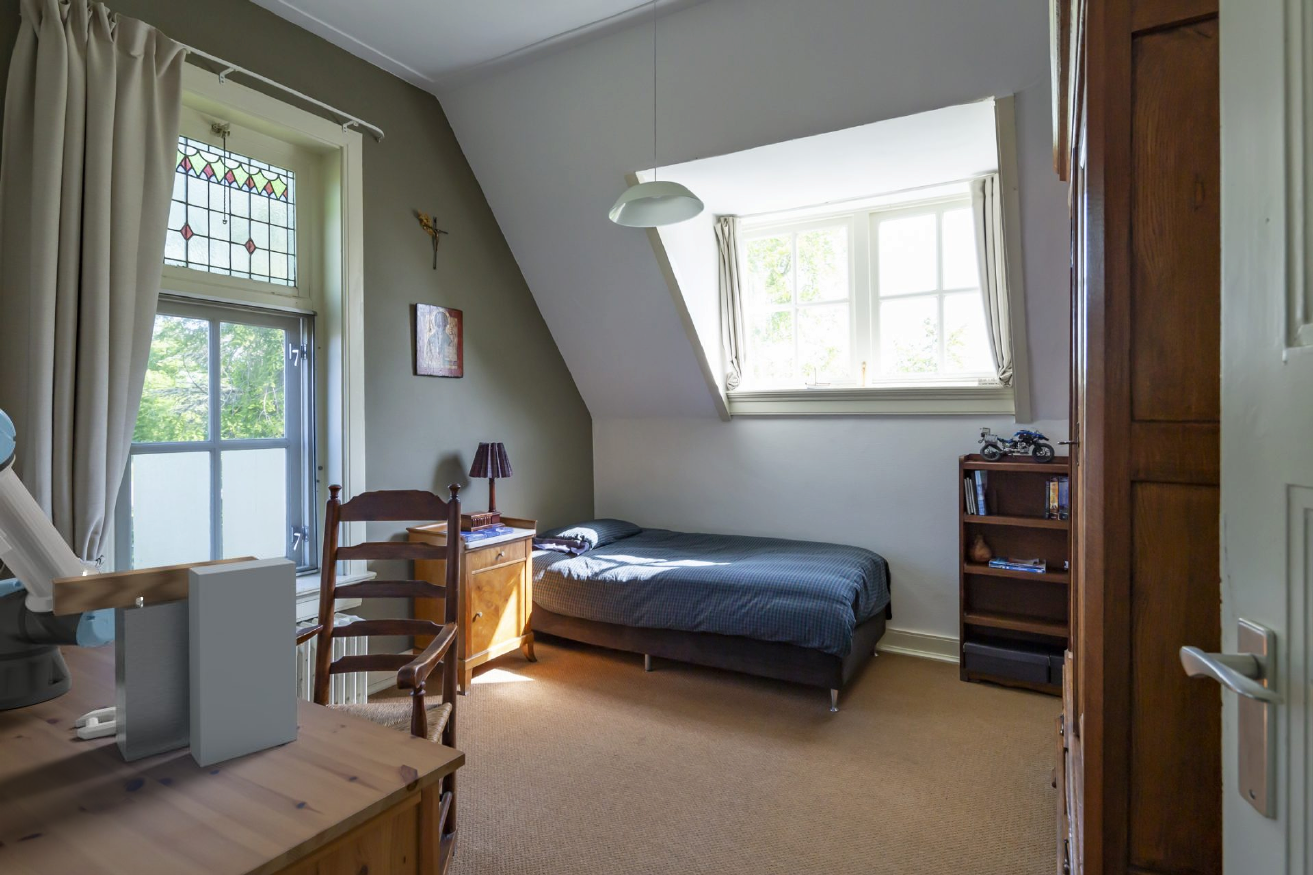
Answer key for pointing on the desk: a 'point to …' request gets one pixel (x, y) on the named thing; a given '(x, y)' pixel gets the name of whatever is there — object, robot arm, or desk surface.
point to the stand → (242, 658)
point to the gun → (97, 723)
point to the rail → (125, 587)
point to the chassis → (152, 677)
